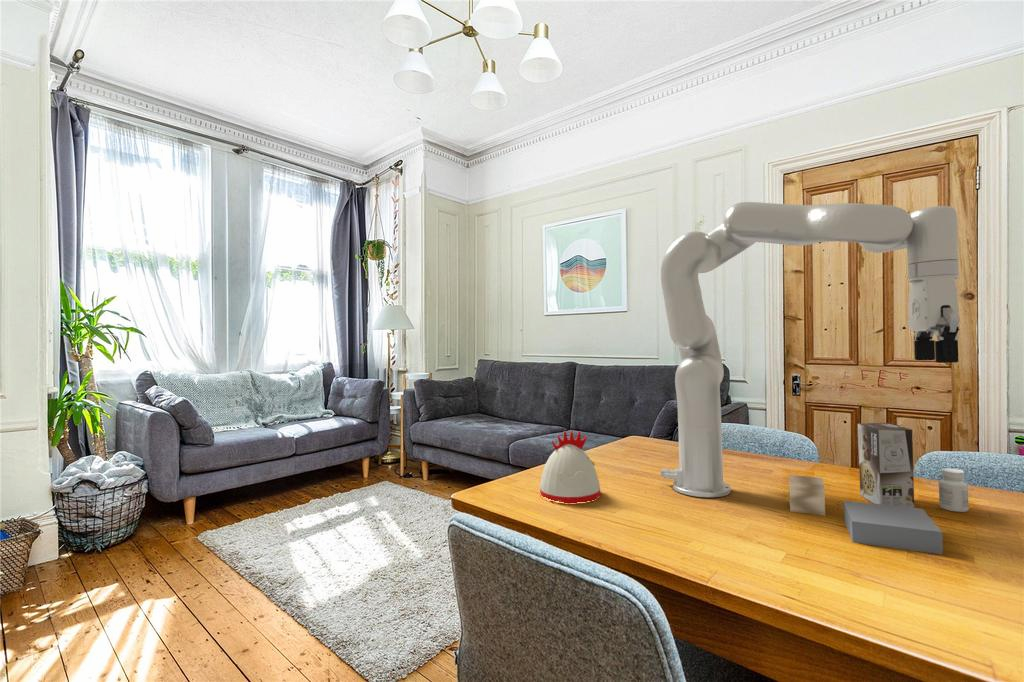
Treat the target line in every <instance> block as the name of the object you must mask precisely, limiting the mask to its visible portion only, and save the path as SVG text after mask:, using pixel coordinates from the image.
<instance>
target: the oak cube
mask: <svg viewBox="0 0 1024 682" xmlns="http://www.w3.org/2000/svg"><path fill="white" fill-rule="evenodd" d="M825 490H826V489H825V483H824V480H823V477H819V476H809V475H808V476H807V475H806V476H805V475H797V474H796V475H794V474H788V491H789V494H788V495H789V496H788V497H789V498H788V499H789V510H790V512H795V513H802V514H811V515H818V516H826V496H825V495H826V494H825Z"/></svg>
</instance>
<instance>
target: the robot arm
mask: <svg viewBox="0 0 1024 682" xmlns="http://www.w3.org/2000/svg"><path fill="white" fill-rule="evenodd" d="M958 228H959V227H958V211H957V210H956V209H955V208H954V207H952V206H948V205H937V206H929V207H924V208H920V209H917V210H914V211H911V212H910V213H909V212H908V211H907V210H905V209H904V208H902V207H899V206H895V205H891V204H890V205H889V204H879V203H878V204H874V203H860V202H859V203H856V202H855V203H854V202H850V203H849V202H845V203H831V204H830V203H827V204H823V203H820V204H791V203H790V204H789V203H772V202H758V201H757V202H756V201H741V202H737V203H735V204H733V205H732V206H731V207H729V208H728V209H727V211H726V212H725V214H724V217H723V223H721V225H719V226H717V227H716V228H714V229H713V230H711V231H709V233H706V232H703V231H699V230H695V231H690V232H687V233H684V234H682V235H680V236H679V237H678V238H676V240H674V241H673V243H671V245H670V246H669V247H668V248H667V250H666V251H665V254H664V256H663V258H662V261H661V268H660V282H661V284H660V285H661V290H662V294H663V300H664V308H665V313H666V318H667V322H668V330H669V331H668V333H669V336H670V339H671V341H672V342H673V344H674V345H675V346H677V347H678V350H679V356H680V361H681V362H680V363H679V364H678V365H677V368H676V371H675V374H674V375H675V376H674V377H675V378H674V383H675V384H674V385H675V392H676V393H675V394H676V401H677V402H676V403H677V404H676V407H677V423H678V424H677V425H678V427H677V429H678V461H679V462H678V463H679V465H678V468H676V467H675V468H674V469H670V468H663V467H662V468H661V469H660V476H661V477H664V479H668V480H670V479H671V480H674V482H673V483H672V488H673V489H674V491H676V492H677V493H680V494H681V495H682V494H683V495H687V496H691V497H696V498H721V497H725V496H729V494H730V493H731V490H732V489H731V486H730V485H729V484H728V483H727V482H725V481H724V473H723V472H724V468H723V467H724V466H723V465H724V464H723V463H724V462H723V436H722V434H723V433H722V431H723V429H722V407H721V406H722V405H721V390H720V389H721V388H720V387H721V383H722V382H723V379H724V375H725V374H724V373H725V371H724V365H723V360H722V355H721V350H720V345H719V344H720V343H719V340H718V335H717V331H716V327H715V324H714V321H713V320H712V318H711V317H709V316H708V315H707V313H706V310H705V305H704V301H703V295H702V290H701V285H700V282H699V274H705V273H709V272H712V271H714V270H715V269H717V268H719V267H720V266H722V265H723V264H725V263H727V262H728V261H730V260H731V259H733V258H735V257H736V256H737V255H739V254H740V253H742V252H743V251H746V250H747V249H748V248H750V247H752V245H754V244H755V243H766V244H778V245H785V246H797V247H799V246H801V247H802V246H810V245H814V244H818V243H827V242H840V243H841V242H844V243H847V242H848V243H857V244H859V245H860V246H861V248H862V249H863V250H865V251H867V252H869V253H873V254H874V253H875V254H883V253H888V252H894V251H897V250H904V249H906V257H907V259H906V260H907V282H908V283H910V288H909V297H908V316H907V317H908V321H907V322H908V323H907V324H908V329H909V330H910V331H911V332H913V345H914V347H913V348H914V350H913V353H914V360H915V361H934V360H935V362H936V363H942V364H943V363H947V364H948V363H949V364H950V363H951V364H952V363H955V364H956V363H958V362H959V334H958V333H959V331H960V327H959V323H960V313H959V299H958V290H957V282H956V280H957V279H959V278H960V269H959V266H960V265H959V264H960V263H959V262H960V261H959V239H958V238H959V237H958V235H959V233H958V230H959V229H958ZM934 336H935V337H936V339H937V340H934Z"/></svg>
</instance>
